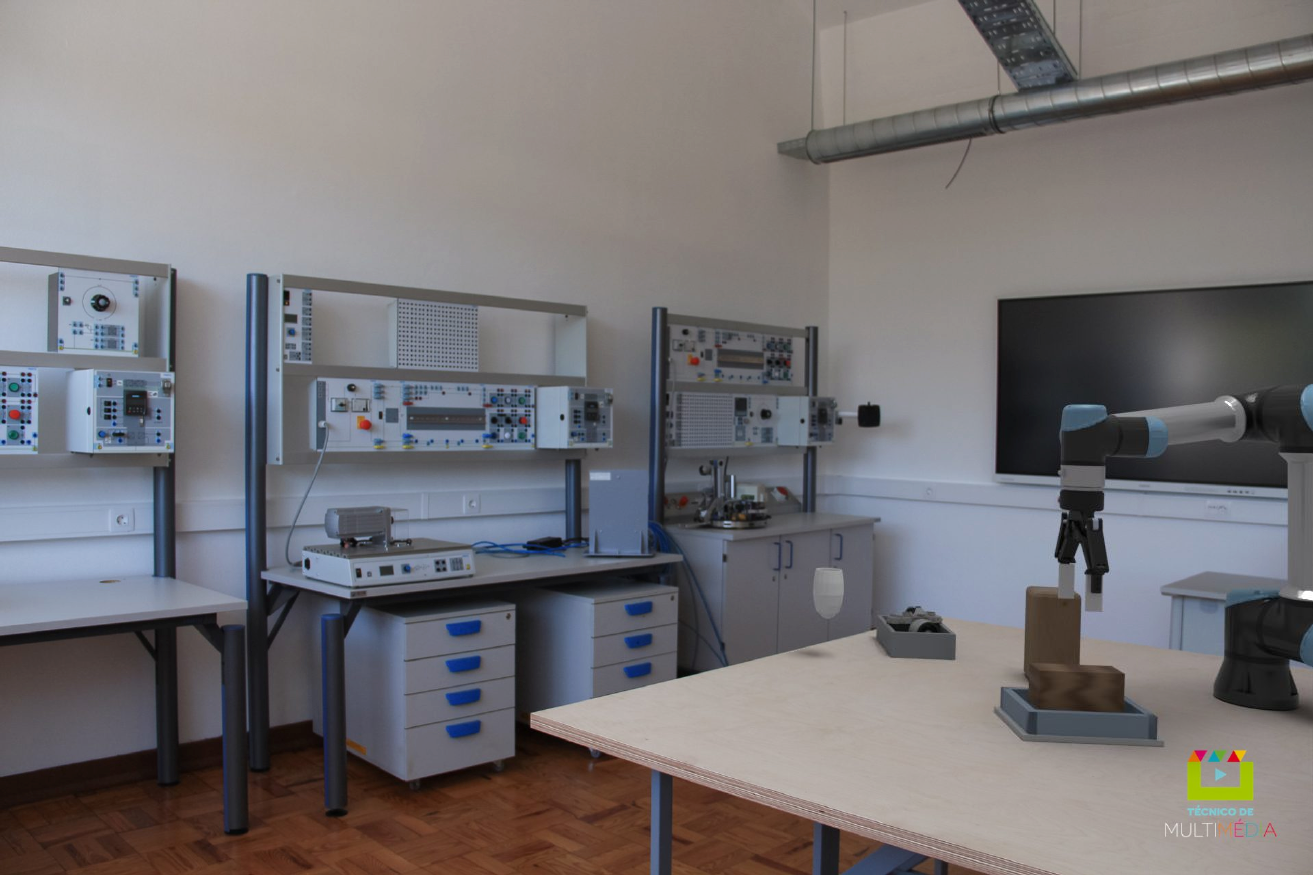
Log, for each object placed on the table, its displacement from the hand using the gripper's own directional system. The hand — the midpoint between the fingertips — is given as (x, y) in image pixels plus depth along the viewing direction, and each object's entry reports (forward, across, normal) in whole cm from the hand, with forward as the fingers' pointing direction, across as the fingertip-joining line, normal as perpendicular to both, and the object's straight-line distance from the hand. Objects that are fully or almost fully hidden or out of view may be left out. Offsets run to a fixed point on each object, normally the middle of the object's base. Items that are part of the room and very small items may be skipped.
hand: (1079, 604), depth 181 cm
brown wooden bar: (+19, 0, 0) cm, 19 cm away
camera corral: (+23, -63, -17) cm, 69 cm away
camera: (+23, -63, -16) cm, 69 cm away
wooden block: (+23, -35, +7) cm, 43 cm away
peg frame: (+23, 0, 0) cm, 23 cm away
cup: (+23, -50, -40) cm, 68 cm away
